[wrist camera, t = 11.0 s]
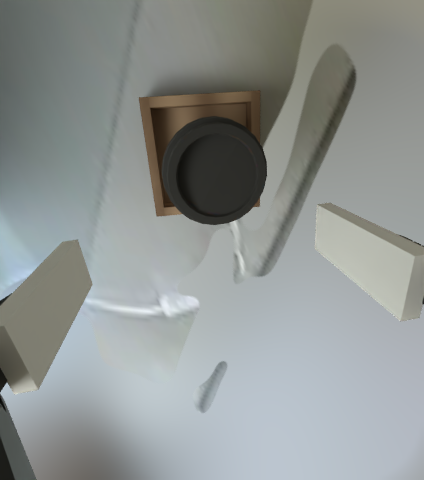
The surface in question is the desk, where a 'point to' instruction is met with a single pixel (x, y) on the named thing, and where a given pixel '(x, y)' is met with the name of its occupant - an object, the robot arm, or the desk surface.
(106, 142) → the desk surface
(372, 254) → the robot arm
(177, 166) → the coffee cup
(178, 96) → the tray
